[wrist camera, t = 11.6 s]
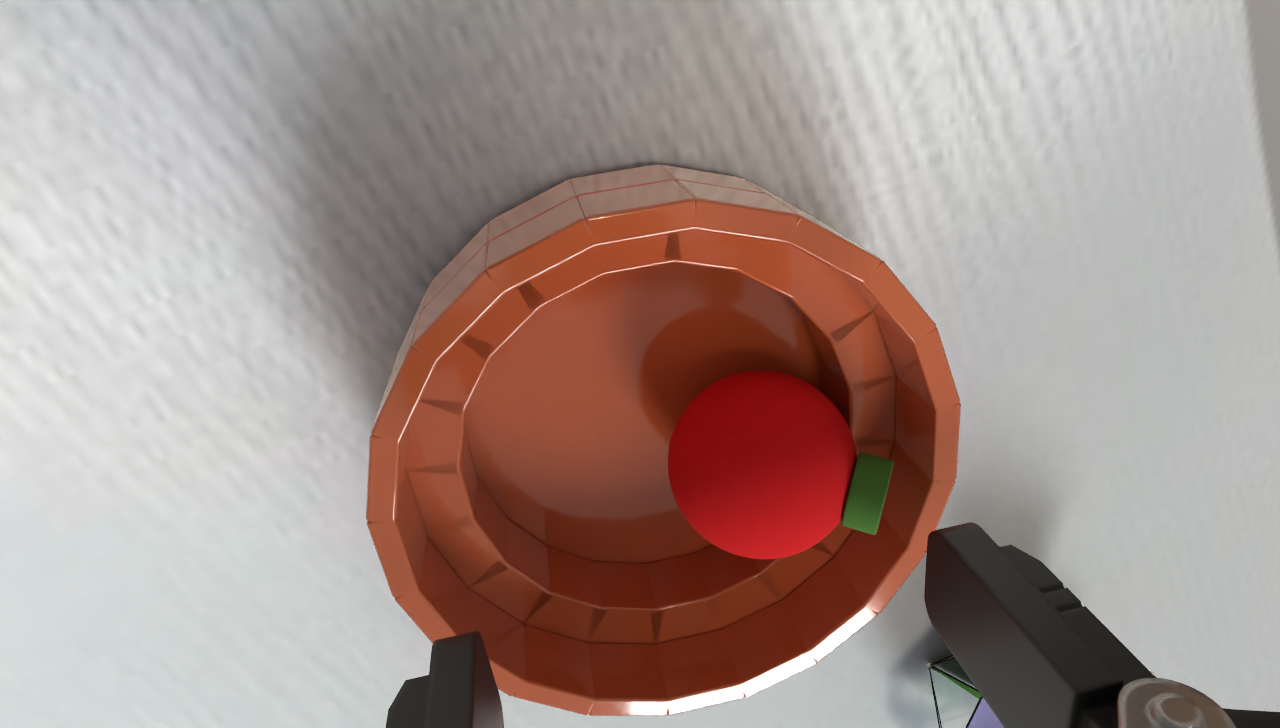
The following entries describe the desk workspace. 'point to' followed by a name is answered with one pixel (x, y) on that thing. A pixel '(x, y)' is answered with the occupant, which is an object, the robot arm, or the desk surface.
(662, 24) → the desk surface
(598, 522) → the bowl
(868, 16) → the desk surface
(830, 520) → the tomato
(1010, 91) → the desk surface
